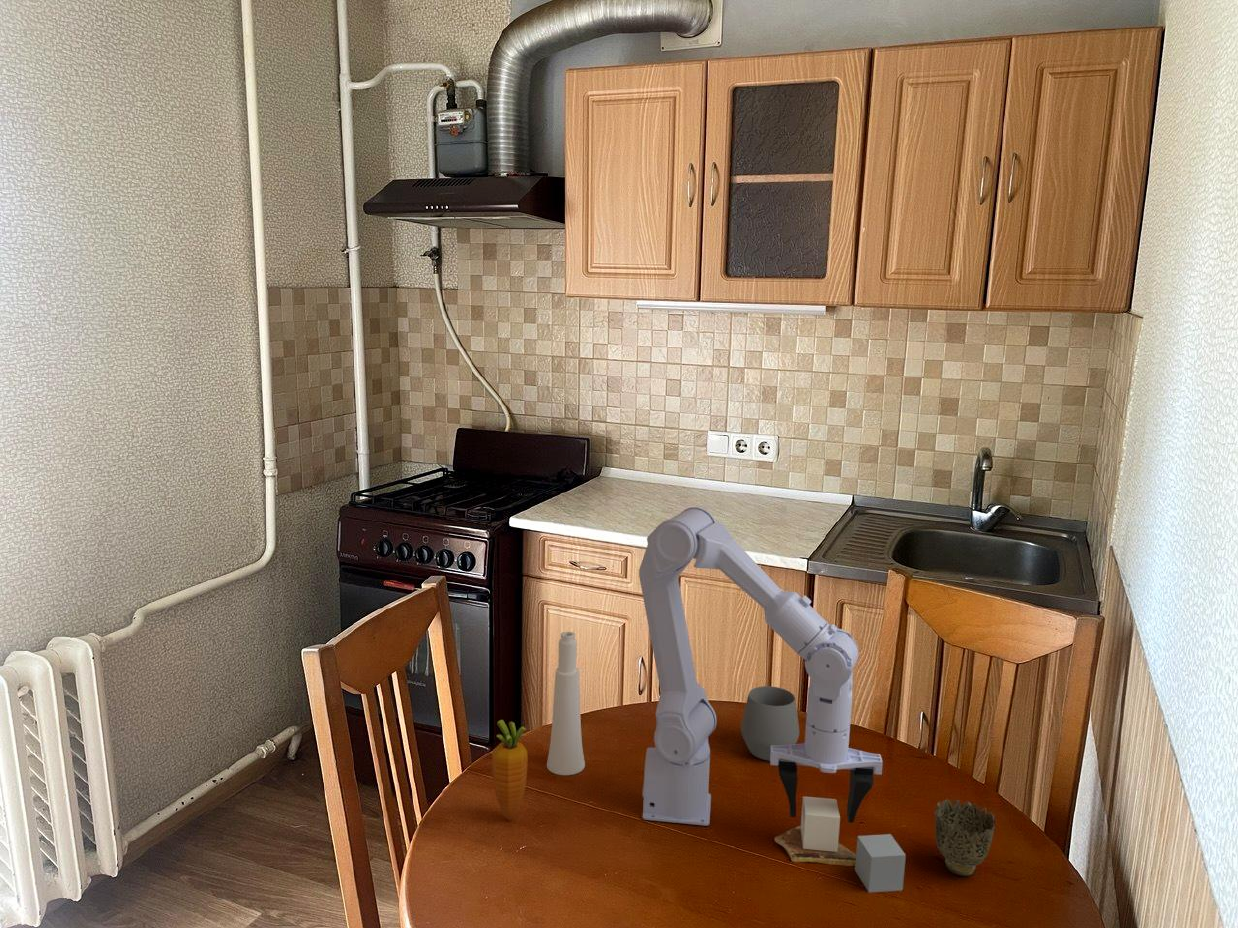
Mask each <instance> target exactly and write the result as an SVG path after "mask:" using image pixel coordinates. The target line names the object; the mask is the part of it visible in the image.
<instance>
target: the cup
mask: <svg viewBox="0 0 1238 928" xmlns="http://www.w3.org/2000/svg"><path fill="white" fill-rule="evenodd" d="M795 696H796V695H795V694H794V693H792V692H791V691H789V690H787V689H785V688H782V687H779V686H770V685H769V686H767V685H766V686H765V685H763V686H759V687H757V686H756V687H754V688H752V689H750V691H749V692H748V695H747V699H746V704H745V707H744V712H743V716H742V720H741V724H740V732H741V735H742V738H743V740H744V743H745V745H746V747H747V749H748V752H749V753H751V754H752V755H753V756H754V757H756V758H758V759H761V760H764V761H769V762H770V749H771V745H792V744H797V742H798V740H799V737H800V726H799V716H798V708H797V707H798V706H797V699H796V697H795Z"/></svg>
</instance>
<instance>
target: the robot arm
mask: <svg viewBox="0 0 1238 928" xmlns="http://www.w3.org/2000/svg"><path fill="white" fill-rule="evenodd" d="M646 542H647V545H646V548H645V552H644V553H643V558H642V560H641V562H640V567H639V569H638V578H639V582H640V587H641V594H642V599H643V604H644V610H645V614H646V619H647V620H646V621H647V625H648V630H649V636H650V640H651V646H652V648H651V649H652V651H653V657H654V663H655V667H656V673H657V679H658V684H659V688H660V689H659V690H660V694H659V698H658V702H657V705H656V711H655V719H656V727H655V731H654V736H653V741H654V746H655V747H647V749H646V754H645V761H644V772H643V773H644V776H643V786H642V795H641V796H642V798H643V805H642V807H643V809H642V819H643V820H644V821H645V820H647V821H653V822H654V821H656V822H664V823H666V822H667V823H675V824H677V823H678V824H687V825H697V826H709V825H710V820H711V818H710V817H711V803H712V794H711V793H709V787H710V786H709V785H710V783H709V782H710V767H711V766H710V764H711V763H710V762H711V748H710V744H709V736H711V734H712V733H713V732H714V731H715V730H716V727H717V722H718V721H717V720H718V719H717V718H718V717H717V715H716V711H715V709H714V708H713V706H712V705H711V703H710V702H709V700H708V697H707V694H706V693H707V692H706V690H705V688H704V687H703V686H701V685H700V684H699V683H698V681H697V675H696V671H695V670H696V669H695V663H694V659H693V658H694V657H693V653H692V648H691V641H690V635H689V631H688V625H687V622H686V621H687V620H686V614H685V609H684V603H683V598H682V593H681V586H680V582H679V577H680V575H681V574H682V573H683V571H685V569H686V568H687V567H688V566H689V564H690V563H691V562H692V560H693V559H695V562H694V563H693V567H694V568H696V569H709V570H710V569H711V570H719V571H721V573H723V574H724V575H725V576H726V577H728V578H729V580H731V581H732V582H733V583H734V584H735V585H736V586H738V587H739V588H740V589H741V590H742V591H743V592H744V593H746V594H747V595H748V597H750V598H751V599H752V600H754V601H755V602H756V603H757V604H758V605H759V606H761V607H762V608H763V610H764V620H765V623H766V624H767V626H769V627H770V628H771V629H772V630H773V631H774V632H775V633H776V634H777V636H779V637H780V638H781V639H782V640H783V641H784V642H785V643H786V644H787V645H788V646H789V647H790V648H791V649H792V650H793V651H794V652H795V653H797V655H798V656H799V657H800V658H802V659H804V660H805V661H804V666H805V671H806V673H807V675H808V676H809V686H808V689H807V690H808V691H807V706H806V719H805V733H804V734H805V735H804V743H796V744H792V745H771V749H770V761H769V762H770V764H769V765H770V766H777V769H778V775H779V778H780V781H781V783H782V784H783V788H784V790H785V792H786V793H785V794H786V796H787V800H788V804H789V817H790V818H796V816H797V788H798V780H799V778H798V777H799V775H798V766H807V767H813V768H817V769H819V771H820V772H822V773H828V774H836V773H837V771H838V770H839V771H840V770H849V790H848V791H849V792H848V797H847V798H848V799H847V805H846V806H847V807H846V817H847V821H848V823H853V824H854V823H855V819H856V816H857V813H858V811H859V808H860V806H861V803H862V802H863V800H864V798H865V797H866V796H867V794H868V793H869V791H871V790H872V788H873V786H874V784H875V783H874V782H875V779H874V775H882V773H883V758H882V755H881V754H880V753H873V752H872V753H871V752H869V751H868V752H867V751H863V750H859V749H856V748H855V749H854V748H852V747H849V744H850V733H851V732H850V731H851V721H852V719H851V718H852V711H853V710H852V708H853V707H852V705H853V695H854V693H853V686H854V681H853V680H854V679H853V678H854V677H853V675H854V673H853V670H854V668H855V665H857V661H858V660H859V650H860V649H859V646H858V644H857V642H856V640H855V639H854V638H853V636H852V635H851V633H850V632H849V631H847V630H845V629H842V628H838V627H837V626H836V625H835V624H834V623H832V624H829V622H827V620H826V619H825V618H823V617H822V615H820V613H818V612H817V611H816V610H815V609H814V608H813V607H812V606H811V605H810V604H811V603H812V600H811V599H810V598H809V597H807V595H802V597H801V596H800V594H798V593H797V592H796V591H792V590H791V591H790V590H789V591H788V590H783V589H781V588H780V587H779V586H778V585H777V584H776V583H775V581H773V580H772V579H771V577H770V576H769V575H768V574H767V573H766V572H765V571H764V570H763V569H762V568H761V567H760V566H759V565H758V563H756V561H755V560H754V559H753V558H752V557H751V556H750V555H749V554H748V553H747V552H746V551H745V549H744V548H743V547H741V545H740V544H739V542H737V541H736V540H735V538H734V537H733V536H732V535H731V532H729V530H728V528H727V527H726V525H724V524H723V523H722V522H720V521H719V520H717V521H716V519H715V517H714V516H713V514H711V512H710V511H709V510H707V509H705V508H702V507H701V506H700V507H698V506H691V507H688V508H685V509H684V510H682V511H681V512H680V513H679V514H677V515H675V516H673V517H671V518H670V519H667V520H664V521H662V522H661V523H659V524H658V525H657V526H656V527H655V529H654V530H652V531H651V533H649V535H648V536H647V537H646Z"/></svg>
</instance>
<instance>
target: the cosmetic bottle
mask: <svg viewBox="0 0 1238 928" xmlns="http://www.w3.org/2000/svg"><path fill="white" fill-rule="evenodd" d="M577 643H578V642H577V639H576V634H575V633H574V632H572V631H565V632H561V633H560V639H559V640H558V663H557V665H558V667H557V668H556V669H555V673H554V674H555V675H554V687H553V689H554V690H553V707H552V721H551V722H552V723H551V733H550V734H551V735H550V744H549V749H548V750H549V751H548V755H547V756H548V757H547V761H546V768H547V769H548V771H549V772H550V773H552V774H555V775H558V776H572V775H573V776H574V775H576V774H578V773H580V772H582V771H583V770H584V769H585V767H586V762H585V757H584V756H585V755H584V751H583V750H584V749H583V742H582V741H583V738H582V726H581V725H582V723H581V720H582V719H581V693H580V692H581V690H580V689H581V686H580V670H579V669H578V668H577V655H578V654H577V650H578V649H577Z"/></svg>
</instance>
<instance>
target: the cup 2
mask: <svg viewBox="0 0 1238 928" xmlns="http://www.w3.org/2000/svg"><path fill="white" fill-rule="evenodd" d="M936 807H937V808H936V810H935V809H934V827H935V841H936V844H937V845H936V846H937V848H938V849H937V850H939V852H940V854H941V855H942V856H943V858H945V860H944V862H945V865H946V868H947V869H948V870H949V871H950V872H951V873H953V874H954V875H958V876H962V877H966V876H970V875H972V874H973V872H975V869H976V866H978V865H980V864H982V863H983V862H984V861H985V859H986V858H987V856H988V853H989V851H990V849H991V845H992V841H993V840H992V839H993V837H994V833H995V826H996V819H995V815H994V813H992V812H991V813H987V809H986V807H984V808H983V809H981V810H980V808H979V807H978V805H977V803H973V804H971V802H970V801H969V800H968V801H965V802H964V803H963V804H962V805H961V800H960V799H956V800H955V801H954V803H953V802H952V801H951V800H950V799H948V798H947V799H944V800H943V801H942V802H939V801H938V802H937V803H936Z"/></svg>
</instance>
